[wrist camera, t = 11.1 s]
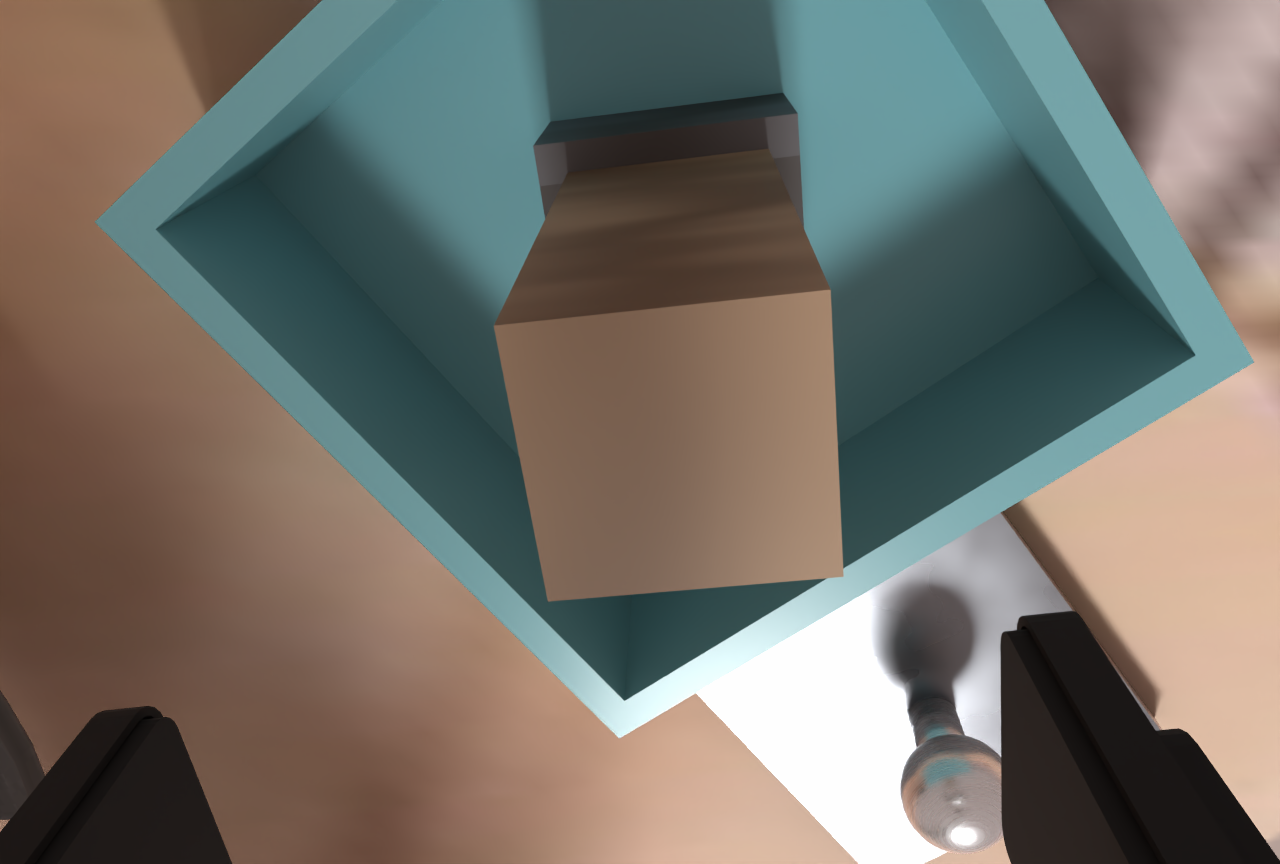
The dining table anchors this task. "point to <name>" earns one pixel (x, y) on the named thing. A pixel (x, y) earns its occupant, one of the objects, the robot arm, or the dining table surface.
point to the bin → (833, 221)
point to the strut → (674, 356)
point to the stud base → (899, 701)
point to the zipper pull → (15, 763)
